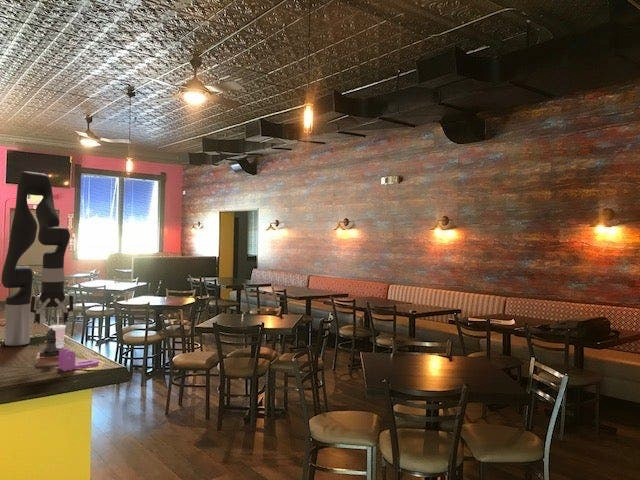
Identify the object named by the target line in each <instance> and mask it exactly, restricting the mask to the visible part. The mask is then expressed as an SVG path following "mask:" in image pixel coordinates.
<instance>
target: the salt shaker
mask: <svg viewBox="0 0 640 480" xmlns="http://www.w3.org/2000/svg"><path fill="white" fill-rule="evenodd" d="M52 329H53V328H52V327H51V330H50V329H49V330H47V333H46V339H45V341H46V347H45V348H44V349H42V351H41V352H43V354H44V355H45V356H46V357H51V356H56V355H57V354H58V353H59V351H61V348H57V347H56V340H57V339H56V331H55V330H52Z"/></svg>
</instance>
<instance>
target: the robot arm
mask: <svg viewBox="0 0 640 480" xmlns="http://www.w3.org/2000/svg"><path fill="white" fill-rule="evenodd" d="M28 195H29V196H37V197H38V196H41V197H42V198H41V200H40V201H39V203H38V204H37V205H36V208H35V217H36V218H35V217H34V215H33V213H32V211H31V210H30V207H29V204H28ZM12 218H13V219H12V222H11V223H12V224H11V229H10V235H9V243H8V249H7V252H6V253H7V254H6V257H5V261H4V265H3V268H2V272H1V278H0V279H1V284H2V287H3V288H5V289H17V288H19V289H18V291H17V292H15V293H14V294H11V295H8V296H6V297H5V310H4V311H5V315H4V316H5V319H4V325H5V327H4V345H5V346H11V347H12V346H13V347H14V346H23V345H24V346H25V345H28V344H31V313H34V314H35V322H36V323H37V325H40V324H41V312H42V310H44V308H45V307H46V308H52V307H53V308H58V307H59V308H60V309H61V310H62V311H63V323H66V322H68V319H69V313H70V312H73V311H74V297H73V294H67V295H65V292H64V291H65V268H64V265H65V261H64V260H65V255H66V251H67V247H68V245H69V242H70V240H71V239H70V238H71V233H70V230H69V229H68V228H67V227H64V226H60V219H59V216H58V213H57V210H56V207H55V199H54V193H53V188H52V182H51V177H49V175H48V174H46V173H41V172H33V171H21V173H19V176H18V180H17V189H16V200H15V209H14V212H13V217H12ZM36 220H37V221H36ZM37 232H38V234H37ZM36 238H37V240H38V242H39V243H40V244H41V245H42V246H56V248H55V250H52V251H51V250H50V251H47V252H43V255H42V271H41V286H40V289H41V290H40V294H39V295H32V293H33V290H32V289H33V279H34V278H33V277H34V274H33V269H32V268H31V266H29V265H18V262H19V261H20V258H21V257H22V256H23V255H24V254H25V253H26V252H27V251H28V250H29V249H30V248H31V247H32V246H33V244H34V243H35V241H36ZM65 299H66V301H67V302H69V303H68V304H69V307H66V306H65V304H64V303H63V302H64V301H65ZM38 300H39V301H41V303H40V305H39V307H38V308H37V309H36V308H35V305H36V304H35V303H37V302H38Z"/></svg>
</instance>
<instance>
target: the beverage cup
mask: <svg viewBox="0 0 640 480" xmlns="http://www.w3.org/2000/svg"><path fill="white" fill-rule="evenodd" d="M56 318H57V319H56V321H57V322H56V323H57V324H53V325H50V326H49V330H51V327H52V328H53V329H52V330H55V331H56V339H57V340H56V347H57V348H59V349H64V347H65V336H66V335H65V333H66V328H67V327H66V325H65V324H59V321H60V320H59V318H60V317H59V313H58V314H57V317H56Z"/></svg>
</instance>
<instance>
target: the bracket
mask: <svg viewBox="0 0 640 480" xmlns="http://www.w3.org/2000/svg"><path fill="white" fill-rule="evenodd" d="M59 351H60V352H59V365H58V369H59V370H61V371H63V372H67V370H69V371H73V370H72V369H75V370H78V369H77V368H81V369H84V368H83V367H87V368H89V367H88V366H93V367H95V366H94V365H97V366H99V365H100V364H99V363H100V360H98V359H87V360H86V359H84V360H80V361H76V353H75V352H74V351H72V350H70V349H69V348H66V347H65V348H64V347H63V348H61V349H60V350H59ZM98 364H99V365H98Z"/></svg>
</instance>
